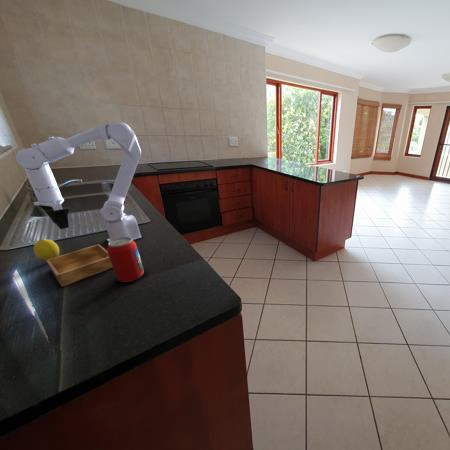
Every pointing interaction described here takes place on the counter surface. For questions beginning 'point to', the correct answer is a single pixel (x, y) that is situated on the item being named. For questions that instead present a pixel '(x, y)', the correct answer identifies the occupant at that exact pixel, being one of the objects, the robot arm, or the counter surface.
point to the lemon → (46, 249)
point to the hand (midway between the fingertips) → (61, 225)
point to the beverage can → (125, 259)
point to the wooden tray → (79, 264)
